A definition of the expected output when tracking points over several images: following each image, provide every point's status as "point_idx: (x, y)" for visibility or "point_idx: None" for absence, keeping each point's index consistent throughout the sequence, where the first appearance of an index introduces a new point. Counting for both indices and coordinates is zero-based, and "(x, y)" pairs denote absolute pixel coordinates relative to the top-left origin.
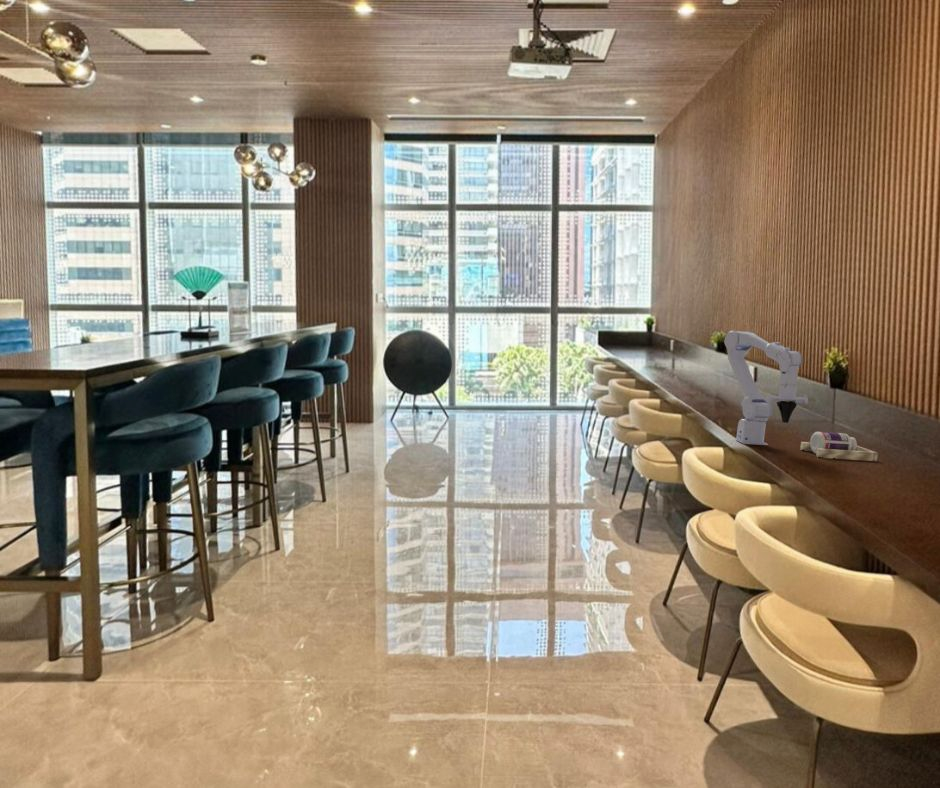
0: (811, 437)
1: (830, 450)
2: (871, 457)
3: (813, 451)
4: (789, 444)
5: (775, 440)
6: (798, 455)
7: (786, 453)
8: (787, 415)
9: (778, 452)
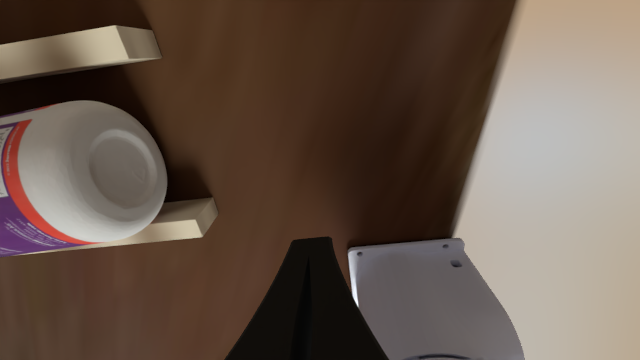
0: (133, 221)
1: (43, 38)
2: None
3: (161, 156)
4: (239, 304)
5: None
6: (261, 51)
7: (318, 86)
8: (303, 308)
9: (358, 97)
